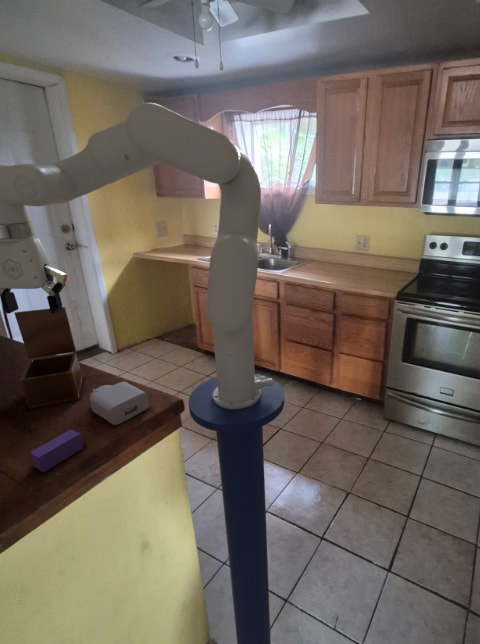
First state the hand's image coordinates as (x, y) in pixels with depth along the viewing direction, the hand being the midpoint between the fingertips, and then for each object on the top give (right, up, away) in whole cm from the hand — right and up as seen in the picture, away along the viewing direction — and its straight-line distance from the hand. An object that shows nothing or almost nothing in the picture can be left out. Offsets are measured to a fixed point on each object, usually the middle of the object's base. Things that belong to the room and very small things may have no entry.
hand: (34, 311), depth 82 cm
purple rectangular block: (+11, -30, -8) cm, 32 cm away
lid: (-6, -5, +12) cm, 15 cm away
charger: (+14, -23, +8) cm, 28 cm away
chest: (-4, -20, +14) cm, 25 cm away
